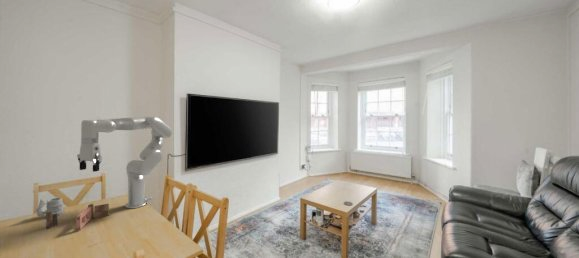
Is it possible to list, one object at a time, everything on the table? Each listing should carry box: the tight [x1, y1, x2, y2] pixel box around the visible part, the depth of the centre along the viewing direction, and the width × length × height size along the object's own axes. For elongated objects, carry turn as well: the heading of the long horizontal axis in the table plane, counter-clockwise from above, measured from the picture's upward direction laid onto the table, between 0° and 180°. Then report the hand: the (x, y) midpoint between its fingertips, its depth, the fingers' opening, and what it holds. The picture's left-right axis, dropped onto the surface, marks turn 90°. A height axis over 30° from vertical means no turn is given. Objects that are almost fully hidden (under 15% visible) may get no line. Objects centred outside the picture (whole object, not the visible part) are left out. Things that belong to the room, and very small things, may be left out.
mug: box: [35, 197, 65, 218], centre depth 135 cm, size 8×12×12 cm, turn 162°
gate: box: [75, 206, 92, 231], centre depth 126 cm, size 14×2×7 cm, turn 23°
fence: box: [45, 203, 110, 230], centre depth 131 cm, size 26×4×8 cm, turn 133°
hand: (89, 170), depth 131 cm, fingers open, 9 cm apart
